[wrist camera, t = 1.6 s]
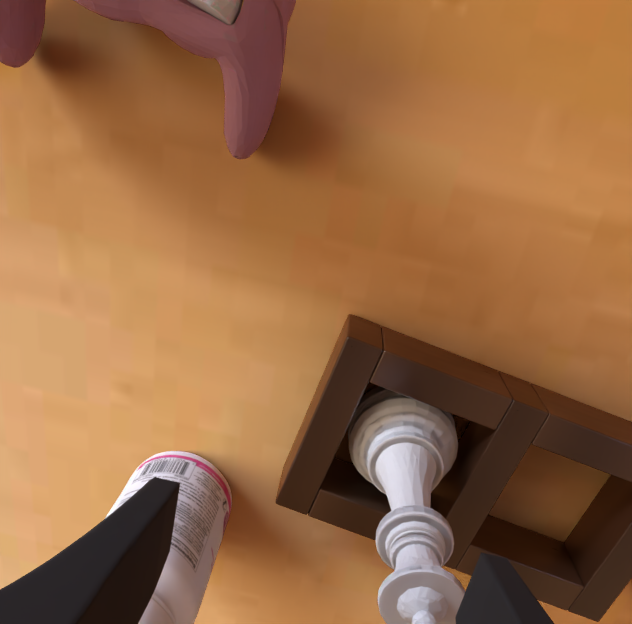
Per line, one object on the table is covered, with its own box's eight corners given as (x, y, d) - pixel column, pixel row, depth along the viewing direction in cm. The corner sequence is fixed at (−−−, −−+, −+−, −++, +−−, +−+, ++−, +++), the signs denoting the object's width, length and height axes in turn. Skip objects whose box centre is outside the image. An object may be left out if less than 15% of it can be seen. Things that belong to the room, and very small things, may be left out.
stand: (674, 438, 22) (710, 475, 20) (576, 575, 25) (598, 623, 23) (349, 312, 22) (347, 335, 19) (283, 467, 24) (274, 504, 22)
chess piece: (438, 480, 24) (487, 713, 15) (339, 460, 24) (323, 679, 15) (466, 391, 22) (540, 587, 13) (359, 370, 23) (357, 549, 13)
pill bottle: (199, 551, 26) (129, 738, 18) (114, 498, 26) (3, 668, 18) (255, 486, 25) (204, 658, 17) (165, 428, 24) (69, 578, 16)
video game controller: (303, 65, 20) (323, -92, 13) (257, 176, 20) (252, 73, 13) (48, -41, 20) (-69, -260, 13) (-7, 69, 19) (-160, -97, 12)
